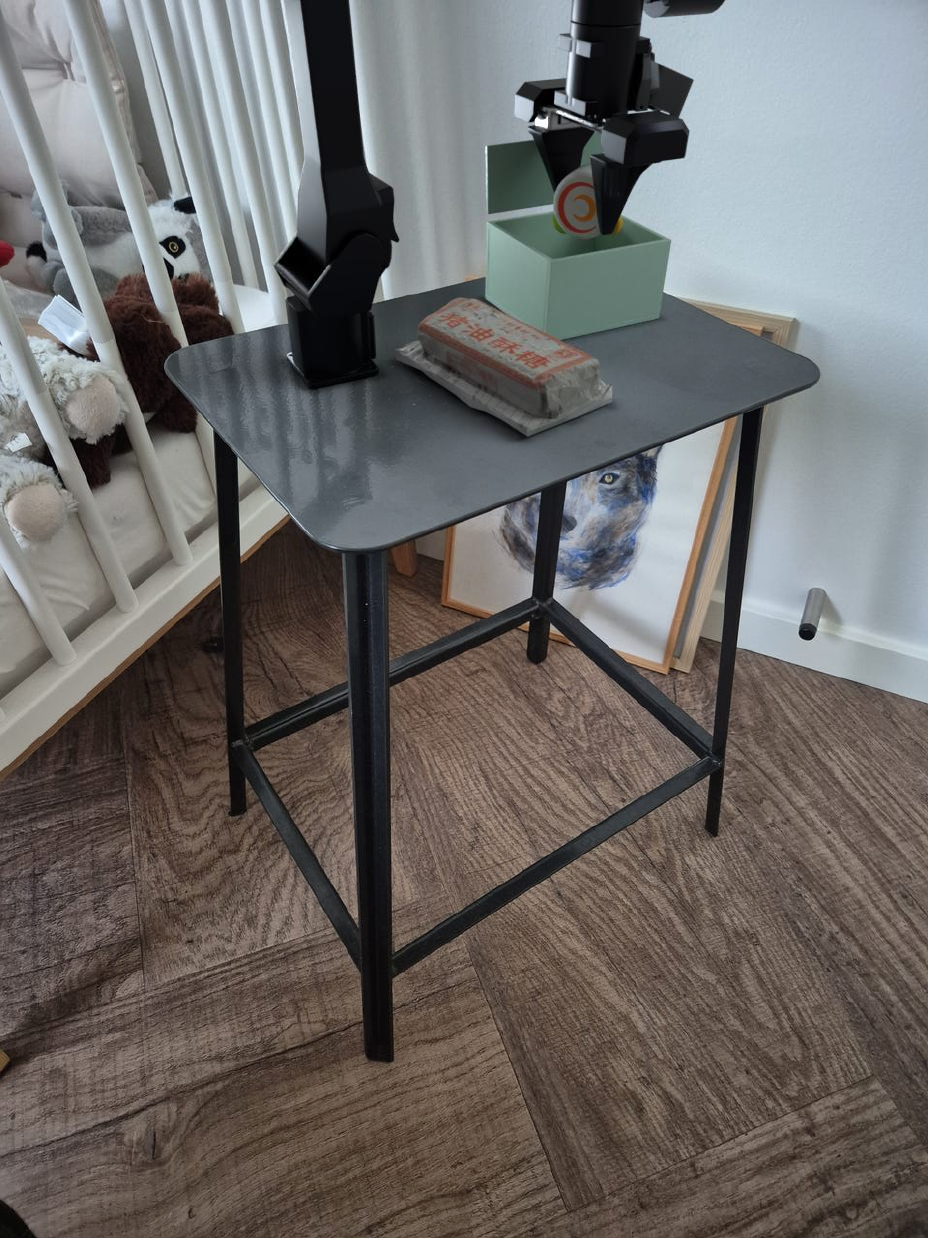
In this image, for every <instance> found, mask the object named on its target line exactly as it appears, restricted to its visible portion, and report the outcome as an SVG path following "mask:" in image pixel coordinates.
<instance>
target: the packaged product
mask: <svg viewBox="0 0 928 1238" xmlns="http://www.w3.org/2000/svg"><path fill="white" fill-rule="evenodd" d="M417 337H418V339H417V340H414V341H411V342H409V343H408V342H407V343H405V344H404V345H403V347H402V348H395V347H394V348H393V350H394V353H395V359H396V361H398V362H401V363H403V364H405V365H408V366H410V367H413V368H415V369H417V370H419V371H421V372H422V373H424V374H425V375H426V376H427V377H428V378H430V379H431V380H433V381H434V382H436V383H437V384H438V385H440V386H442V387H444V388H445V389H446V390H448V391H449V392H451V393H452V394H454V395H455V396H456V397H458V398H459V399H460V400H461V401H462V402H463V403H465V404H466V405H467V406H468V407H469V408H472V409H476V410H479V411H483V412H486V413H488V414H490V415H492V416H494V417H495V418H497V419H499V420H501V421H503V422H505V423H506V424H508V425H509V426H510V427H512V428H513V429H515V430H517V431H518V432H520V433H522V434H523V435H524V436H526V437H527V438H528V437H530V436H532V435H536V434H537V433H540V432H542V431H545V430H548V429H551V428H553V427H556V426H558V425H560V424H563V423H565V422H568V421H570V420H573V419H575V418H577V417H580V416H582V415H586V414H587V413H589V412H592V411H594V410H597V409H600V408H601V407H604V406H606V405H609V404H611V403H613V384H608V383H607V384H606V383H605V381H603V380H602V379H600V375H601V373H602V369H601V362H600V360H598V359H597V358H596V357H593V356H591V355H590V354H587V353H586V352H585V351H582V350H581V349H578V348H576V347H575V346H572V345H571V344H568V343H566V342H564V341H563V340H558V339H556V338H554V337H552V336H550V335H548V334H546V333H544V332H542V331H540V330H538V329H536V328H534V327H532V326H530V325H528V324H526V323H524V322H521V321H519V320H518V319H515V318H513V317H511V316H510V315H507V314H506V313H504V312H503V311H502V310H498V309H497V308H495V307H493V306H491V305H489V304H488V303H485V302H483V301H481V300H479V299H476V298H465V297H456V298H454V299H452V300H450V301H449V302H448V303H447V304H445V305H444V306H442V307H440V308H439V309H437V311H434V312H432V313H430V314H428V315H427V316H426V317H425V318H424V319H422V320H421V321H420V322H419V323H418V326H417Z"/></svg>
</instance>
